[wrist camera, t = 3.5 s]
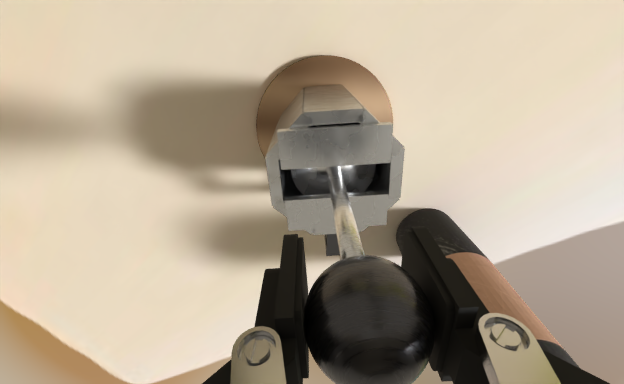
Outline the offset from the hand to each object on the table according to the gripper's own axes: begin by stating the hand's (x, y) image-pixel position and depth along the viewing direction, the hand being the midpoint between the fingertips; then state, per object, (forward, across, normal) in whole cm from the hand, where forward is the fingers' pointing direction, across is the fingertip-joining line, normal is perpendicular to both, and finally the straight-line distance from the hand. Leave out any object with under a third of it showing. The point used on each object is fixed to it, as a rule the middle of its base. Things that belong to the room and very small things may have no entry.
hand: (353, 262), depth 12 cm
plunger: (+11, 0, 0) cm, 11 cm away
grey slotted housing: (+20, 0, +1) cm, 20 cm away
